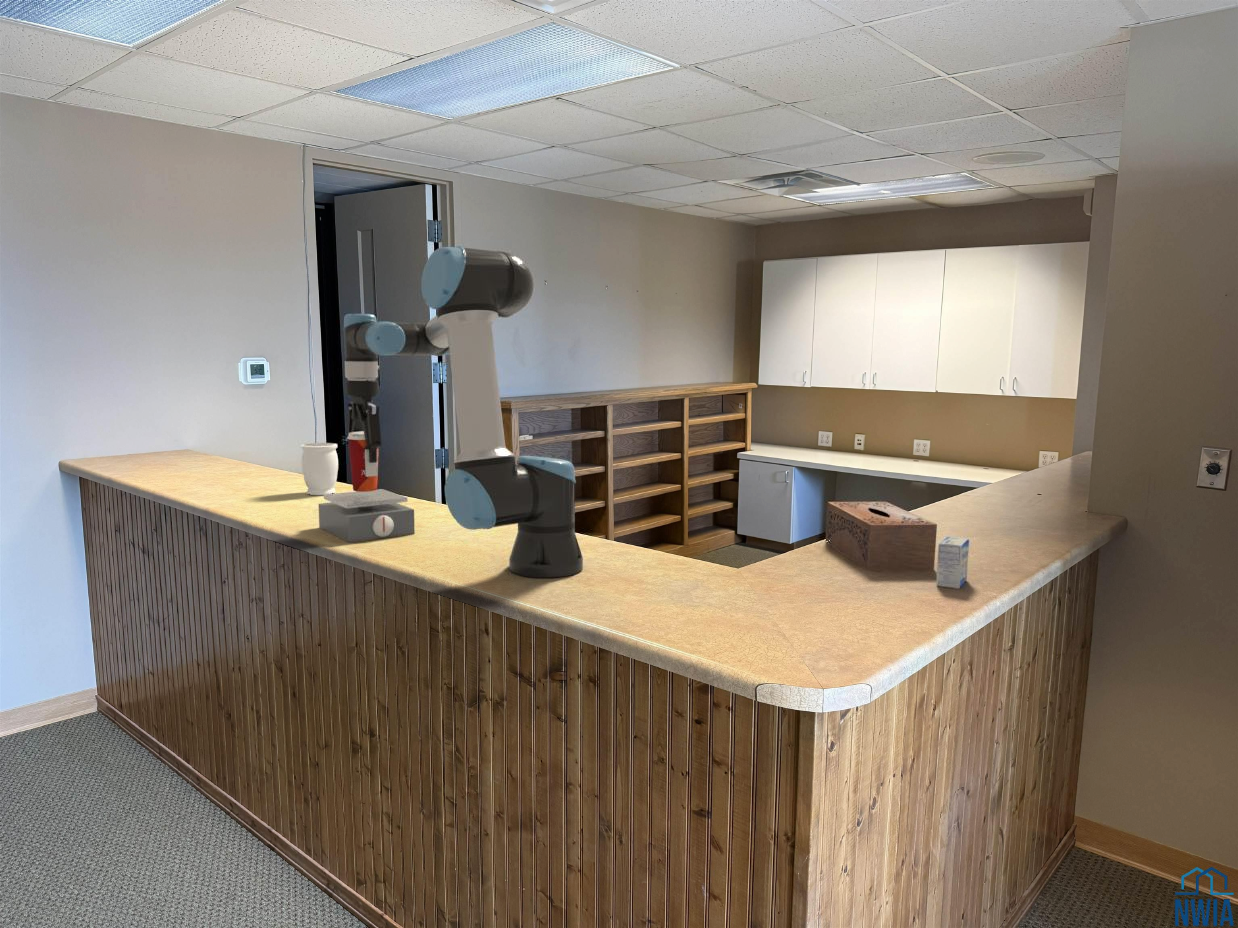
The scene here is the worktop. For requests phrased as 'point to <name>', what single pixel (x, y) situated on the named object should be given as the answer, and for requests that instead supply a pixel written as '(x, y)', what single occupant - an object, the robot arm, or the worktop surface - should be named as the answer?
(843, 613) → the worktop surface
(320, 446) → the jar
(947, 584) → the medicine box
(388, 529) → the scale base
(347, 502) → the scale pan
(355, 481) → the paper cup
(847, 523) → the tissue box cover
